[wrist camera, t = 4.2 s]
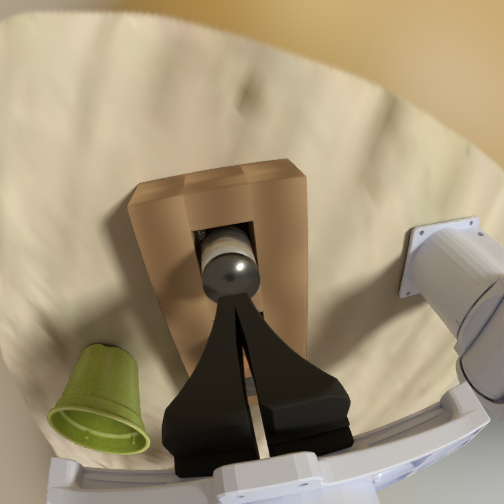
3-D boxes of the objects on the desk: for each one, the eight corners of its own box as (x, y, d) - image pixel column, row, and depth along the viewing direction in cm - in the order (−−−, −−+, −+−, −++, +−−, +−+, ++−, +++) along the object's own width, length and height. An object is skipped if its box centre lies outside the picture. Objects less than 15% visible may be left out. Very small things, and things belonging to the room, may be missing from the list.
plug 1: (247, 221, 18) (257, 253, 15) (252, 263, 20) (262, 300, 17) (196, 230, 18) (196, 264, 15) (205, 271, 20) (208, 309, 17)
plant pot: (115, 395, 31) (108, 459, 24) (51, 351, 26) (31, 420, 19) (171, 369, 29) (172, 444, 22) (103, 315, 24) (83, 398, 17)
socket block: (287, 158, 20) (306, 176, 17) (294, 364, 32) (304, 394, 28) (139, 183, 19) (126, 206, 16) (203, 381, 31) (206, 412, 28)
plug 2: (260, 344, 28) (267, 375, 25) (262, 363, 30) (269, 392, 26) (228, 350, 28) (232, 381, 25) (232, 368, 29) (237, 398, 26)
